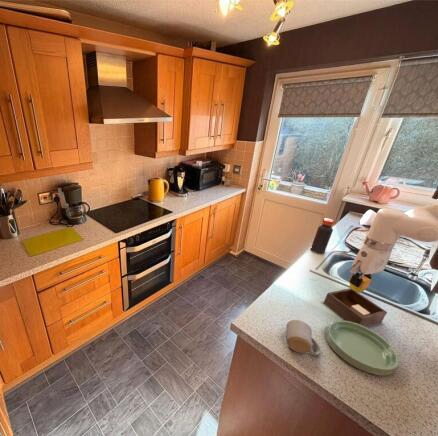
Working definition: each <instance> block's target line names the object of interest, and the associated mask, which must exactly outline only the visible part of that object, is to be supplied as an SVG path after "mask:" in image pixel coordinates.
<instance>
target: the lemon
mask: <svg viewBox="0 0 438 436" xmlns="http://www.w3.org/2000/svg"><path fill="white" fill-rule="evenodd" d="M349 288H352V289H353V290H355V291H356V292H358V293H363V292H364V291H365V290H366V289H367V288H363V289H360V288H359V287H356V286H354V285H353V284H351V283H350V282H349Z"/></svg>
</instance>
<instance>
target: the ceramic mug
mask: <svg viewBox="0 0 438 436" xmlns="http://www.w3.org/2000/svg"><path fill="white" fill-rule="evenodd" d="M285 328H286V330H285V331H286V332H285V333H286V334H285V335H286V338H285V339H286V344H287V346H288V348H290V349H291V350H293V352H296V353H300V354H307V353H308V354H310V355H312V356H318V355H320V353H321V347H320V345H319V343H318V342H317V340H315V339H314V338H313V331H312V330H313V329H312V328H311V327H310V325H309V324H308V323H306V322H304V321H302V320H299V319H292V320H289V321H288V322H287V323H286V327H285ZM312 346H314V348H315V351H313V350H312Z"/></svg>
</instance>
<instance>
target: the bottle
mask: <svg viewBox="0 0 438 436" xmlns="http://www.w3.org/2000/svg"><path fill="white" fill-rule="evenodd" d="M334 223H335V220H333V219H330V218H323V219H322V222H321V224H320V225H319V226H318V227H317V229H316V233H315V235H314V237H313V241H312V244H311V247H312V248H311V247H310V250H311V251H312V252H314V253H316V254H319V255H320V254H321V255H322V254H324V253H326V250H327V247H328V245H329V242H330V239H331V237H332V234H333V232H334V229H333V225H334Z"/></svg>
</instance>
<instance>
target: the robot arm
mask: <svg viewBox="0 0 438 436" xmlns="http://www.w3.org/2000/svg"><path fill="white" fill-rule="evenodd" d="M376 213H377V214H376V216H375V219H374V221H373V223H372V225H371V226H370V228H369V229H368V231H367V233H366V236H365V238H364V240H363V242H362V244H363V245H362V246H361V248H360V249H359V250H358V252H357V254H356V255H355V258H354V259H353V262H352V265H351V267H352V268H351V269H350V270H349V272H350V273H351V275H353V276H352V278H351V280H350V282H349V284H350V283H351V284H353V285H354V286H356V287H359V286H360V284H361V282H362V280H363V279H362V278H363V276H366V277H367V278H369V279H371V280H372V279H373V277H374V276H375V274H376V273H382V272H383V271H384V270H385V269H386V266H387V265H388V263H389V261H390V258H391V255H392V252H393V250H394V247H395V245H396V244H397V242H398V240H399V239H400V236H402V237H405V238H408V239H411V240H414V241H418V242H423V243H434V242H438V203H437V202H436V203H433V204H432V203H431V204H429V205H424V206H419V207H416V208H413V209H410V210H408V211H407V212H404V211H402V210H399V209H394V208H388V207H387V208H380V209H379V210H378V211H377V212H376Z"/></svg>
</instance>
